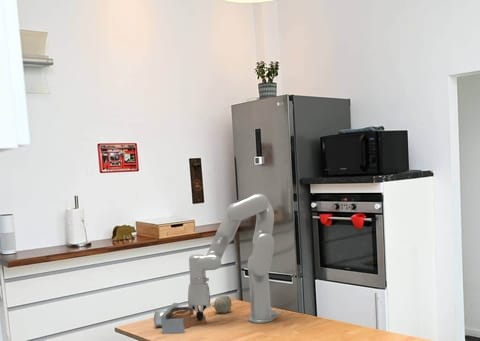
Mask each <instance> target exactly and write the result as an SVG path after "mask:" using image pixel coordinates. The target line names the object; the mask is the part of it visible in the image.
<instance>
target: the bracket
mask: <svg viewBox="0 0 480 341" xmlns="http://www.w3.org/2000/svg"><path fill="white" fill-rule="evenodd" d="M183 318H184V329H185V330H186V329H189V328H192V327H195V326H199V325H200V324H204V323H205V322H206V320H207V316H206V314H204V313H203V319H202V321H198V319H197V315H196V313H194V315H191V313H190V311H189V310H188V311H186V310H179V311H175V312H173V319H183Z"/></svg>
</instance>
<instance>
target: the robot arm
mask: <svg viewBox="0 0 480 341" xmlns="http://www.w3.org/2000/svg"><path fill="white" fill-rule="evenodd" d="M253 216H256V220H255V228H254V232H253V236H252V244H253V245H252V246H253V247H252V253H251V255H250V256H249V257H248V260H247V272H248V284H249V299H250V301H249V302H250V314H251V315H250V316H248V318H247V319H248V322H250V323H255V324H265V323H270V322H273V321H274V320H276V319H275V316H278V317H279V316H281V311H279V310H273V309H272V308H271V294H270V293H271V292H270V277H269V276H270V275H269V271H270V270H271V266H272V262H273V256H274V250H275V239H274V237H273V231H274V224H275V212H274V208H273V206H272V204H271V203H270V202H269V198H267V196H266V195H265V194H262V193H253V194H252V195H251V196H249V197H248V198H245V199H243V200H241V201H237V202H234V203H233V202H232V203H231V204H230V205H228V207H227V209H226V211H225V214H224V215H223V218H222V220H221V222H220V224H219V226H218V228H217V230H216V233H215V236H214V238H213V240H212V242H211V244H210V246H209V248H208V251H207V253H206V255H203V254H201V253H200V254H192V255H190V256H189V257H188V263H189V264H188V265H189V266H188V269H189V283H188V290H187V303H188V304H187V306H188V308H192V309H194V313H195V314H196V315H197V319H198V321H202V319H203V314H204V311H205V310H206V309H208V308H211V293H210V292H211V291H210V286H209V281H210V278H209V277H207V275H206V270H207V271H216V270H218V269H219V268H220V267H221V264H222V258H223V255H224V253H225V251H226V249H227V247H228V246H229V244H230V243H231V242H232V241H233V239H234V238H235V236H236V233H237V230H238V228H240V227H239V226H240V225H241V222H242V221H244V220H246V219H249V218H251V217H253ZM199 307H200V308H199Z"/></svg>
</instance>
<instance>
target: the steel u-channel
mask: <svg viewBox="0 0 480 341" xmlns="http://www.w3.org/2000/svg"><path fill="white" fill-rule="evenodd" d="M179 310H186V311H188V310H189V311H190V313H191V315H194V314H195V310H194V309H192V308H188V305H187V306H178V302H173V303H172V304H171V305H170V306H169V307H168V308H167V309H166V310H158V311H155V312H154V315H153V324H154V327H156V328H157V327H159V328H160V327H161V334H163V335H164V334H185V330H186V329H184V318H183V319H173V312H175V311H179Z"/></svg>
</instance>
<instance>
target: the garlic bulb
mask: <svg viewBox="0 0 480 341" xmlns="http://www.w3.org/2000/svg"><path fill="white" fill-rule="evenodd" d="M212 307H213V308H214V311H215V312H216V313H217V314H218V313H219V314H227V313H228V312H230V311H232V299H231V298H230V296H229V295H226V294H224V295H219V296H218V297H216V298H215V301H214V302H213V304H212Z"/></svg>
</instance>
